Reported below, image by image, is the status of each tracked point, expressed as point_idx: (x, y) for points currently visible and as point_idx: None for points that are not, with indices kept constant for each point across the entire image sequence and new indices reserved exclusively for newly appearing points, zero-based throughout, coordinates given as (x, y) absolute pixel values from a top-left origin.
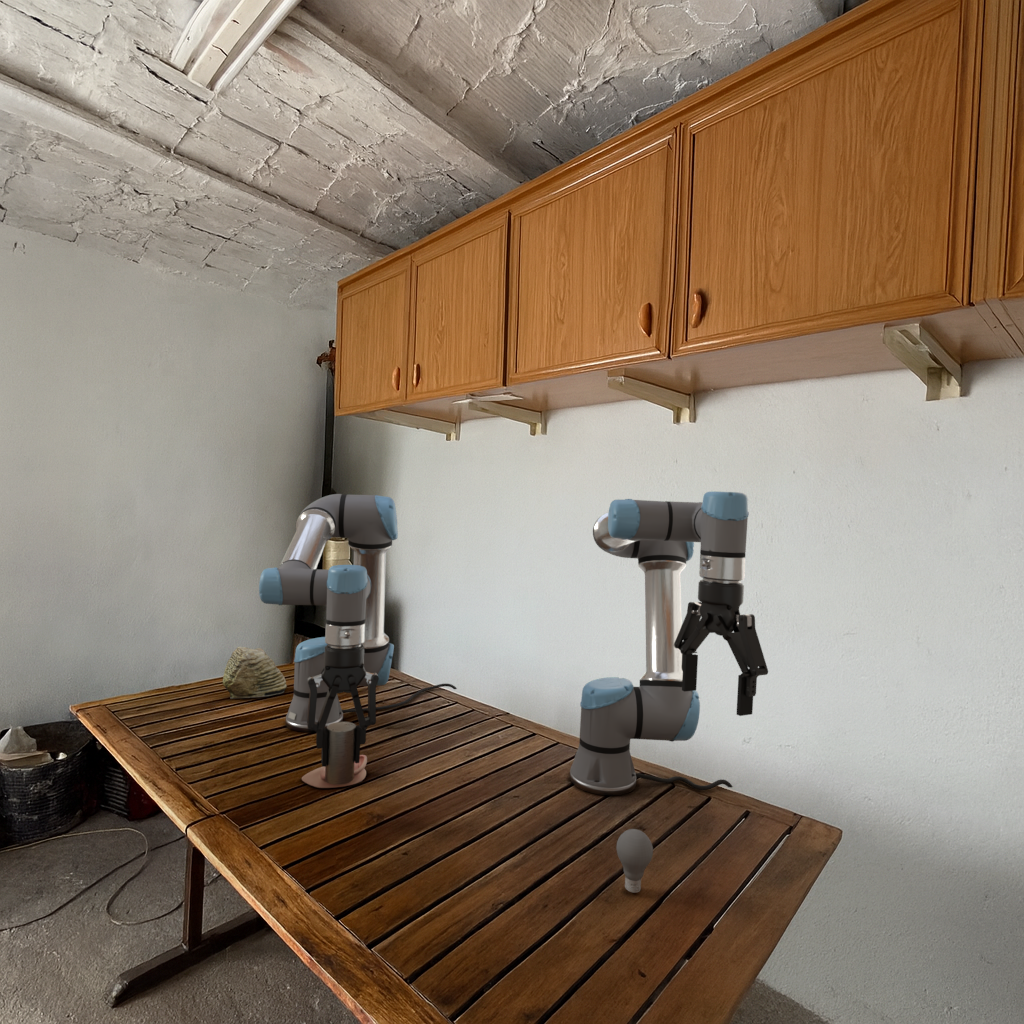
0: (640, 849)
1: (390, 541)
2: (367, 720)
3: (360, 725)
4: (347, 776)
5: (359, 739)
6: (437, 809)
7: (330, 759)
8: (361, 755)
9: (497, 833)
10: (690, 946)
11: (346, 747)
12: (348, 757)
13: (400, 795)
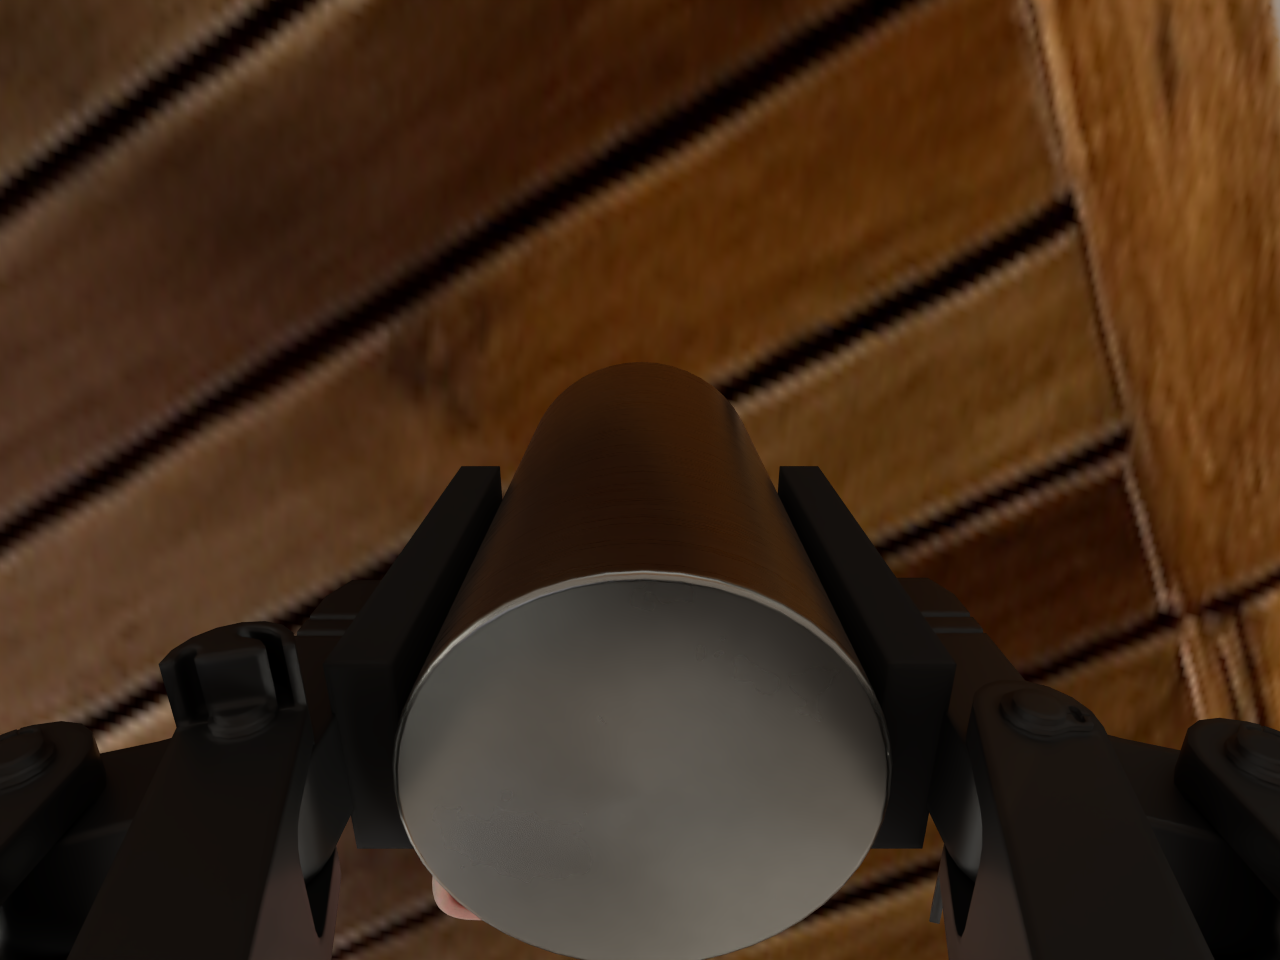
0: None
1: None
2: (119, 824)
3: (293, 728)
4: (586, 386)
5: (391, 584)
6: (73, 359)
7: (759, 469)
8: (461, 912)
9: None
10: None
11: (586, 469)
12: (567, 439)
13: (287, 567)
